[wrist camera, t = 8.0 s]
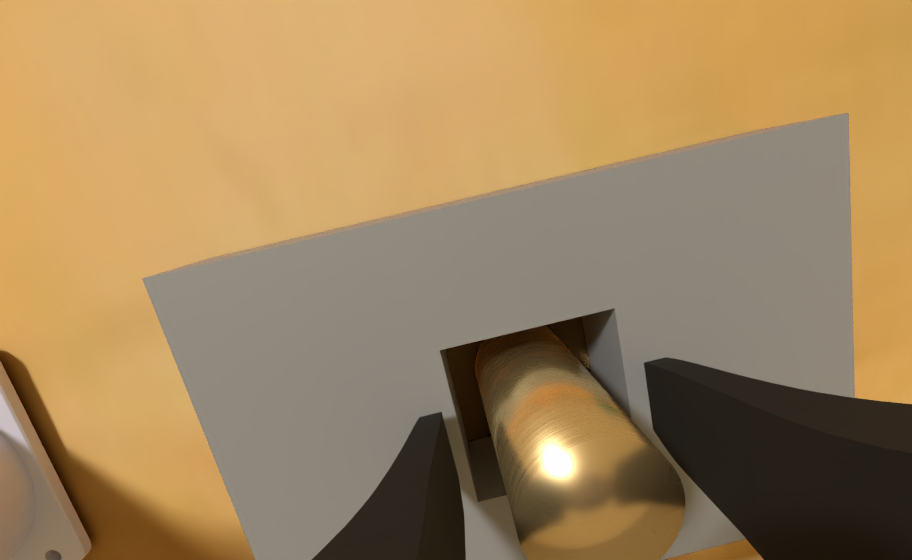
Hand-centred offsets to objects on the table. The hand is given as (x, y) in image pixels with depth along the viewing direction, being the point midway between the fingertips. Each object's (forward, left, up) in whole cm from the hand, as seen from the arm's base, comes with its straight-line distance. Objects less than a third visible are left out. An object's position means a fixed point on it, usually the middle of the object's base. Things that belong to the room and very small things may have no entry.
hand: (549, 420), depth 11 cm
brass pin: (0, 0, -4) cm, 4 cm away
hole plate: (0, 0, -4) cm, 4 cm away
